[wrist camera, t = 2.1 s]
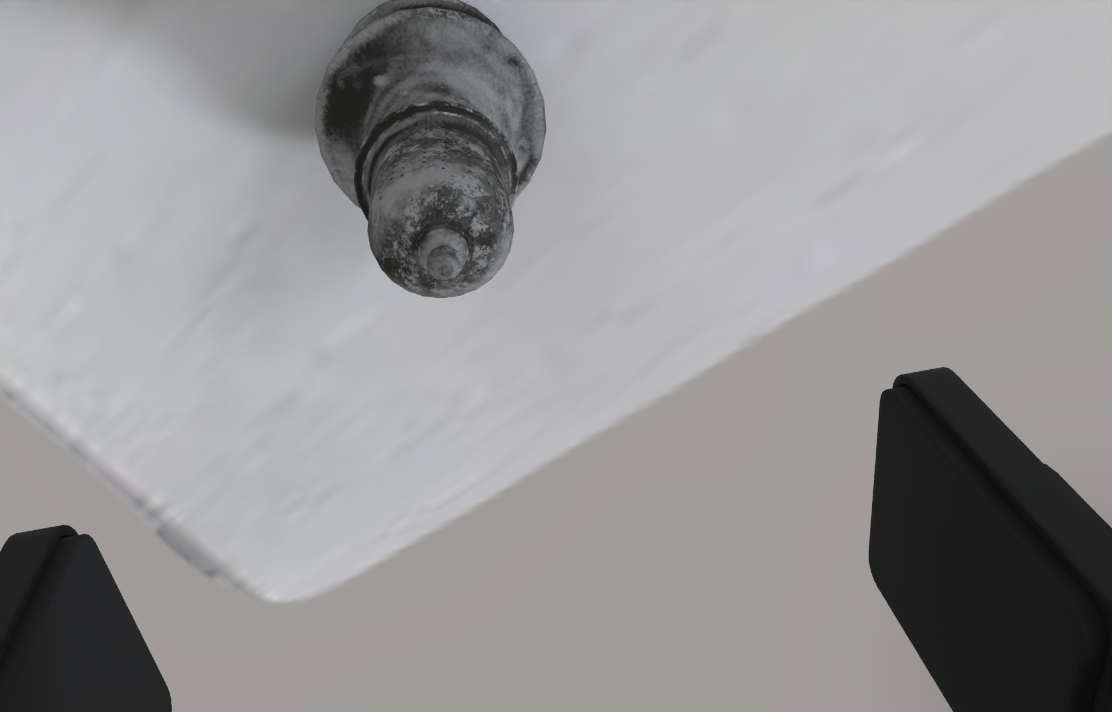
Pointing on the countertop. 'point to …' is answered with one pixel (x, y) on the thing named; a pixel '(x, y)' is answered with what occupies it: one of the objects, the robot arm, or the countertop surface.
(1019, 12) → the countertop surface
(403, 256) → the salt shaker
